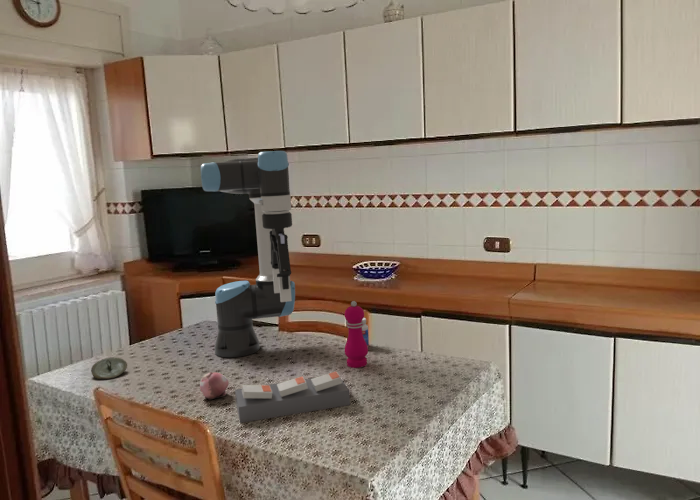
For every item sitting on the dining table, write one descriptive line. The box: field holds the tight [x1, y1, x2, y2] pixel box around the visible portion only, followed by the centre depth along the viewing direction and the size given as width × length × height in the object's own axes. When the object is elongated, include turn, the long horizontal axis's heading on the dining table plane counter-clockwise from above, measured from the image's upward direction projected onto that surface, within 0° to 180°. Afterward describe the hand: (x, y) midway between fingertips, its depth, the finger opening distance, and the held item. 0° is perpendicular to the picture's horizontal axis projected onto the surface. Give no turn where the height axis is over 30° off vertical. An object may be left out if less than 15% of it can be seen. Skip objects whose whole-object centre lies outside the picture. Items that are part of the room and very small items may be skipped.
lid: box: [90, 356, 128, 380], centre depth 183 cm, size 11×10×5 cm
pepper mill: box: [344, 300, 369, 369], centre depth 179 cm, size 7×7×20 cm
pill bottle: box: [362, 317, 370, 348], centre depth 196 cm, size 6×5×10 cm
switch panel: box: [234, 377, 351, 424], centre depth 152 cm, size 12×28×4 cm, turn 105°
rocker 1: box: [241, 384, 272, 399], centre depth 147 cm, size 5×7×2 cm
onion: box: [199, 371, 230, 401], centre depth 160 cm, size 8×8×7 cm
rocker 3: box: [310, 370, 343, 392], centre depth 152 cm, size 5×7×2 cm
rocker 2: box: [276, 375, 308, 397], centre depth 150 cm, size 5×7×2 cm
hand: (282, 296), depth 153 cm, fingers open, 10 cm apart
